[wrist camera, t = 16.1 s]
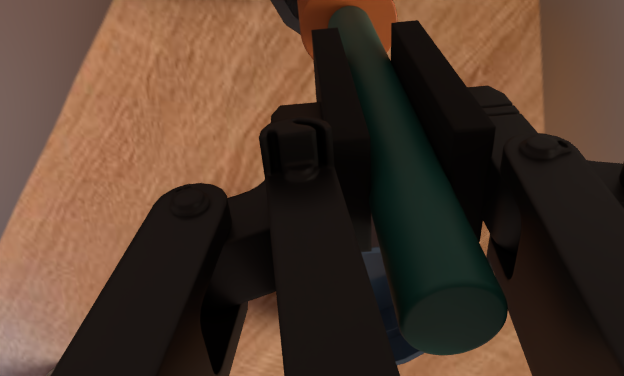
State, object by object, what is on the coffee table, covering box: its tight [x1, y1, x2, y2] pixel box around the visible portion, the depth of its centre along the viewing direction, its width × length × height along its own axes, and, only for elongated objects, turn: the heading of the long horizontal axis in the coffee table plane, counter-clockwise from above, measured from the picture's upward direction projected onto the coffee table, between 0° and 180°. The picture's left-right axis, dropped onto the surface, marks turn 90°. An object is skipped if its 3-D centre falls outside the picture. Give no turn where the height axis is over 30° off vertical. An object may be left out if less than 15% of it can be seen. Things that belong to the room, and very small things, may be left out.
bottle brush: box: [297, 0, 508, 355], centre depth 15 cm, size 4×4×19 cm
